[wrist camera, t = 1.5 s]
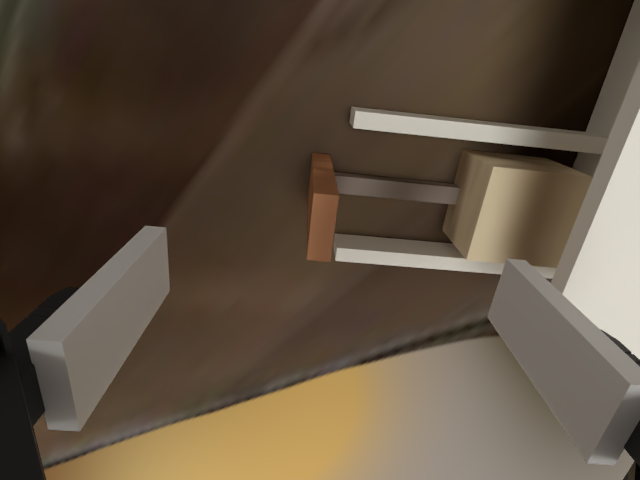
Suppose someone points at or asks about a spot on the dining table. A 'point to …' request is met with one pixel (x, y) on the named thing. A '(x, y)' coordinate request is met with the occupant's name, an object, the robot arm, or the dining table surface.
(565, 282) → the lane rack
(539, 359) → the robot arm
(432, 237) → the dining table surface
